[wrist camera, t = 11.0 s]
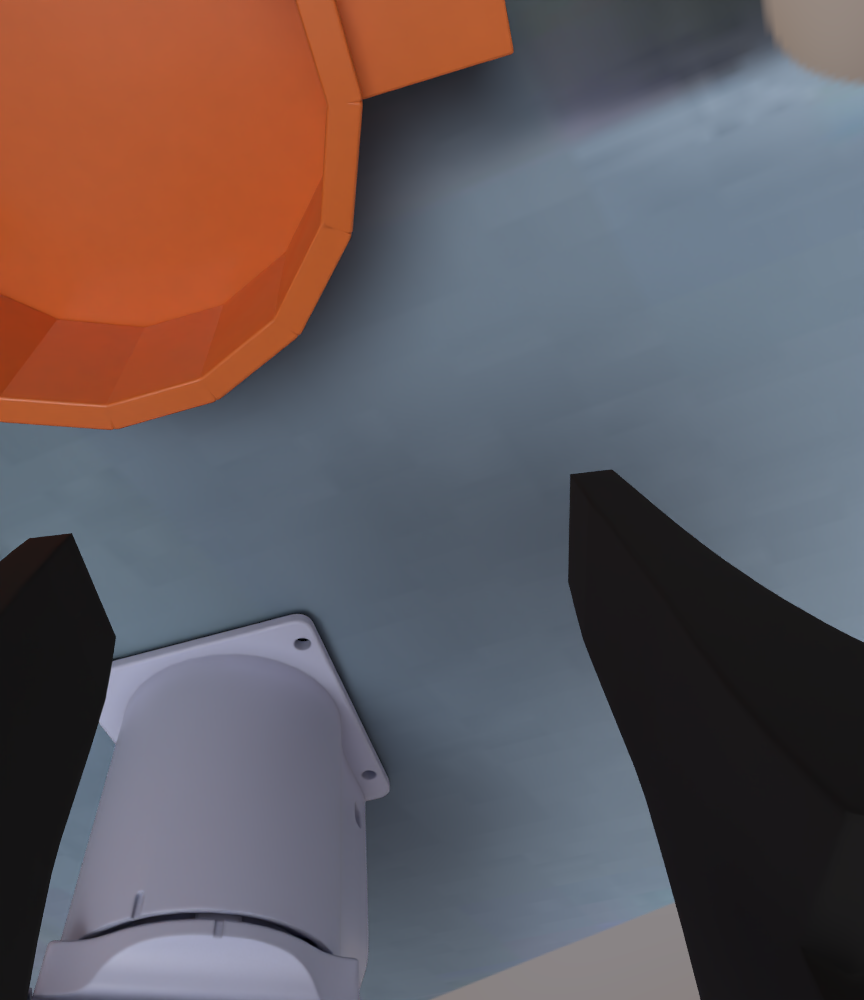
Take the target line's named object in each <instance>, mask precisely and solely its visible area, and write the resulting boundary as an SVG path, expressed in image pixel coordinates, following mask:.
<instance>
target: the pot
mask: <svg viewBox="0 0 864 1000" xmlns="http://www.w3.org/2000/svg"><path fill="white" fill-rule="evenodd" d="M513 51H514V49H513V44H512V38H511V32H510V27H509V21H508V16H507V10H506V4H505V0H0V422H7V423H21V424H35V425H49V426H64V427H78V428H92V429H106V430H112V429H114V428H115V429H120V428H124V427H127V426H131V425H134V424H138V423H141V422H145V421H148V420H152V419H155V418H159V417H162V416H166V415H170V414H173V413H177V412H180V411H184V410H187V409H191V408H194V407H198V406H201V405H205V404H209V403H212V402H215V401H216V400H219V399H221V398H222V397H223V396H225V395H226V394H227V393H228V392H230V391H231V390H232V389H233V388H235V387H236V386H237V385H238V384H240V383H241V382H242V381H243V380H245V379H246V378H247V377H248V376H250V375H251V374H252V373H253V372H255V371H256V370H257V369H259V368H260V367H261V366H262V365H264V364H265V363H266V362H267V361H269V360H270V359H271V358H272V357H274V356H275V355H276V354H277V353H279V352H280V351H281V350H282V349H284V348H285V347H286V346H287V345H289V344H290V343H291V342H292V341H294V340H295V339H296V338H297V337H298V335H300V334H301V333H302V331H303V329H304V327H305V325H306V323H307V321H308V320H309V318H310V316H311V314H312V312H313V310H314V308H315V306H316V304H317V302H318V300H319V298H320V296H321V294H322V293H323V291H324V289H325V287H326V285H327V283H328V281H329V279H330V277H331V275H332V273H333V271H334V269H335V267H336V266H337V264H338V262H339V260H340V258H341V256H342V254H343V252H344V250H345V248H346V246H347V244H348V242H349V240H350V239H351V233H352V231H353V222H354V210H355V197H356V185H357V173H358V160H359V148H360V136H361V123H362V111H363V102H362V100H364V99H367V98H370V97H374V96H377V95H380V94H383V93H387V92H390V91H393V90H397V89H400V88H403V87H406V86H410V85H413V84H416V83H419V82H423V81H426V80H429V79H432V78H436V77H439V76H442V75H445V74H449V73H452V72H455V71H458V70H462V69H465V68H468V67H471V66H475V65H478V64H481V63H484V62H488V61H491V60H494V59H497V58H501V57H504V56H507V55H511V54H512V53H513Z"/></svg>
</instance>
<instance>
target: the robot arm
mask: <svg viewBox="0 0 864 1000" xmlns="http://www.w3.org/2000/svg"><path fill="white" fill-rule="evenodd" d="M568 583H569V587H570V591H571V595H572V599H573V603H574V607H575V611H576V615H577V618H578V622H579V626H580V629H581V633H582V637H583V640H584V643H585V645H586V648H587V651H588V653H589V656H590V658H591V661H592V663H593V666H594V668H595V671H596V673H597V676H598V678H599V681H600V683H601V686H602V688H603V691H604V693H605V696H606V698H607V701H608V703H609V705H610V708H611V710H612V713H613V715H614V718H615V720H616V723H617V725H618V728H619V730H620V733H621V735H622V737H623V740H624V742H625V745H626V747H627V750H628V752H629V755H630V757H631V760H632V762H633V765H634V767H635V770H636V773H637V775H638V778H639V781H640V784H641V787H642V789H643V792H644V795H645V798H646V802H647V805H648V808H649V812H650V815H651V819H652V822H653V826H654V829H655V833H656V836H657V839H658V843H659V846H660V850H661V853H662V857H663V860H664V864H665V867H666V871H667V875H668V878H669V882H670V886H671V889H672V893H673V896H674V900H675V904H676V907H677V911H678V915H679V918H680V922H681V925H682V929H683V933H684V937H685V941H686V944H687V948H688V952H689V956H690V960H691V964H692V968H693V972H694V976H695V980H696V983H697V987H698V991H699V995H700V999H701V1000H864V642H862V641H859V640H857V639H855V638H853V637H851V636H849V635H847V634H845V633H844V632H842V631H840V630H838V629H836V628H834V627H832V626H830V625H828V624H826V623H824V622H823V621H821V620H819V619H817V618H816V617H814V616H812V615H811V614H809V613H807V612H805V611H804V610H802V609H800V608H798V607H797V606H795V605H793V604H791V603H790V602H788V601H786V600H784V599H783V598H781V597H779V596H778V595H776V594H775V593H773V592H771V591H770V590H768V589H767V588H765V587H763V586H762V585H760V584H759V583H757V582H756V581H754V580H753V579H751V578H750V577H749V576H747V575H746V574H744V573H743V572H741V571H740V570H738V569H737V568H735V567H734V566H732V565H731V564H729V563H728V562H727V561H725V560H724V559H722V558H721V557H720V556H718V555H717V554H716V553H714V552H713V551H711V550H710V549H709V548H707V547H706V546H705V545H703V544H702V543H701V542H699V541H698V540H697V539H696V538H694V537H693V536H692V535H690V534H689V533H688V532H687V531H685V530H684V529H683V528H681V527H680V526H679V525H678V524H676V523H675V522H674V521H673V520H672V519H670V518H669V517H668V516H667V515H665V514H664V513H663V512H662V511H661V510H659V509H658V508H657V507H656V506H655V505H653V504H652V503H651V502H650V501H649V500H648V499H646V498H645V497H644V496H643V495H642V494H641V493H639V492H638V491H637V490H636V489H635V488H633V487H632V486H631V485H630V484H629V483H628V482H626V481H625V480H624V479H623V478H622V477H620V476H619V475H618V474H617V473H616V472H614V471H613V470H603V471H595V472H586V473H578V474H570V518H569V569H568ZM299 638H305V639H308V640H307V641H299V640H297V639H299ZM115 639H116V636H115V634H114V631H113V629H112V627H111V624H110V622H109V620H108V617H107V615H106V613H105V610H104V608H103V605H102V603H101V601H100V598H99V596H98V594H97V591H96V589H95V587H94V584H93V582H92V580H91V577H90V575H89V573H88V570H87V568H86V565H85V563H84V561H83V558H82V556H81V554H80V551H79V549H78V547H77V544H76V542H75V540H74V537H73V535H72V533H71V534H62V535H54V536H45V537H37V538H29V539H28V540H26V541H25V542H24V543H23V544H21V545H20V546H19V547H17V548H16V549H15V550H14V551H12V552H11V553H10V554H9V555H7V556H6V557H5V558H4V559H3V560H2V561H0V1000H360V999H359V989H360V986H361V983H362V980H363V977H364V974H365V970H366V966H367V960H368V950H369V934H368V895H367V855H366V816H365V801H369V800H373V799H377V798H381V797H384V796H385V795H387V794H388V793H389V791H390V783H389V779H388V777H387V775H386V772H385V770H384V768H383V766H382V764H381V762H380V760H379V758H378V756H377V754H376V752H375V750H374V748H373V746H372V743H371V741H370V739H369V737H368V735H367V733H366V731H365V729H364V727H363V725H362V723H361V721H360V719H359V717H358V714H357V712H356V710H355V708H354V706H353V704H352V702H351V700H350V698H349V696H348V694H347V692H346V690H345V688H344V685H343V683H342V681H341V679H340V677H339V675H338V673H337V671H336V669H335V667H334V665H333V663H332V661H331V659H330V656H329V654H328V652H327V650H326V648H325V646H324V644H323V642H322V640H321V638H320V636H319V634H318V632H317V630H316V628H315V625H314V623H313V621H312V620H311V619H310V618H309V617H307V616H305V615H302V614H292V615H288V616H284V617H280V618H276V619H272V620H269V621H265V622H261V623H257V624H253V625H249V626H246V627H242V628H238V629H234V630H230V631H226V632H222V633H219V634H215V635H211V636H207V637H203V638H199V639H196V640H192V641H188V642H184V643H180V644H176V645H172V646H169V647H165V648H161V649H157V650H153V651H149V652H145V653H142V654H138V655H134V656H130V657H126V658H122V659H119V660H115V661H112V659H113V653H114V646H115ZM98 723H99V724H100V725H101V726H102V727H103V729H104V730H105V731H106V733H107V734H108V735H109V736H110V738H111V739H112V740H113V742H114V743H115V744H116V745H115V749H114V753H113V756H112V760H111V763H110V767H109V770H108V774H107V777H106V781H105V784H104V788H103V792H102V795H101V799H100V802H99V806H98V809H97V813H96V816H95V820H94V824H93V827H92V831H91V834H90V838H89V841H88V845H87V848H86V852H85V855H84V859H83V863H82V866H81V870H80V873H79V877H78V880H77V884H76V887H75V891H74V895H73V898H72V902H71V905H70V909H69V912H68V916H67V919H66V923H65V927H64V930H63V934H62V937H61V941H58V940H55V941H51V942H50V943H49V944H48V946H47V949H46V953H45V956H44V959H43V963H42V966H41V970H40V973H39V976H38V980H37V983H36V987H35V990H34V993H33V997H32V988H29V986H30V980H31V975H32V969H33V964H34V958H35V952H36V947H37V941H38V937H39V932H40V927H41V922H42V917H43V912H44V908H45V903H46V898H47V893H48V888H49V884H50V879H51V874H52V870H53V867H54V863H55V859H56V856H57V852H58V848H59V845H60V841H61V838H62V835H63V832H64V829H65V826H66V823H67V819H68V816H69V813H70V810H71V807H72V804H73V801H74V798H75V795H76V792H77V789H78V785H79V782H80V779H81V776H82V773H83V770H84V767H85V764H86V761H87V758H88V755H89V752H90V748H91V745H92V742H93V739H94V736H95V732H96V729H97V726H98Z"/></svg>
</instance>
